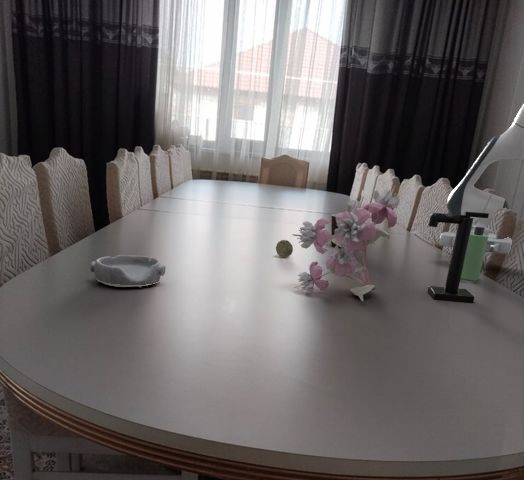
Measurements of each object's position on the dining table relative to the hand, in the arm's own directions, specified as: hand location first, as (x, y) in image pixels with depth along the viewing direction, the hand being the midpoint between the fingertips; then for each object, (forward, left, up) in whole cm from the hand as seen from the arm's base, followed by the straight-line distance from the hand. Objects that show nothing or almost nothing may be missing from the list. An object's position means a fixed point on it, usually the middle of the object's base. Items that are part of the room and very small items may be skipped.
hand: (475, 246), depth 148 cm
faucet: (+15, +31, -8) cm, 35 cm away
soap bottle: (+2, +8, -8) cm, 11 cm away
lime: (+54, +1, -8) cm, 55 cm away
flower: (+41, +38, -8) cm, 57 cm away
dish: (+87, +43, -8) cm, 98 cm away
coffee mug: (+34, -25, -8) cm, 43 cm away
